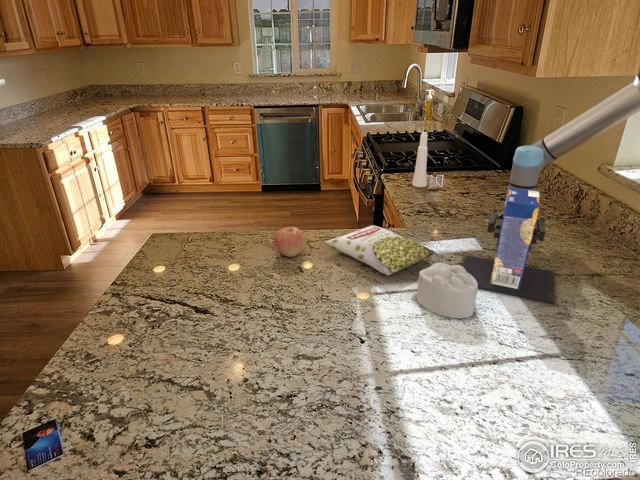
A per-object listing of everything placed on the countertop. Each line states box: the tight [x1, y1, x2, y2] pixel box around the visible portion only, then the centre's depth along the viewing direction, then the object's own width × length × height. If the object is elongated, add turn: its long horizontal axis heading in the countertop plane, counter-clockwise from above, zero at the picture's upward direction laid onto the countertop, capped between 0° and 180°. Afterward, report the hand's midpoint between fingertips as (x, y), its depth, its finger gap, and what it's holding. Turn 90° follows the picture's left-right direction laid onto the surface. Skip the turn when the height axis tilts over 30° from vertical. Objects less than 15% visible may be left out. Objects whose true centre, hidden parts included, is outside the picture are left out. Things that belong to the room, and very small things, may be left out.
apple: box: [273, 226, 306, 258], centre depth 122 cm, size 9×9×8 cm
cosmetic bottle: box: [411, 131, 429, 188], centre depth 174 cm, size 6×6×22 cm
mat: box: [462, 254, 555, 305], centre depth 111 cm, size 22×16×1 cm
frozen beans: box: [324, 224, 438, 276], centre depth 121 cm, size 21×6×25 cm
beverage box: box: [490, 188, 540, 289], centre depth 106 cm, size 7×11×22 cm, turn 155°
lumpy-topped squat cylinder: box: [416, 262, 479, 319], centre depth 99 cm, size 10×13×9 cm
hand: (514, 243), depth 101 cm, fingers open, 6 cm apart
